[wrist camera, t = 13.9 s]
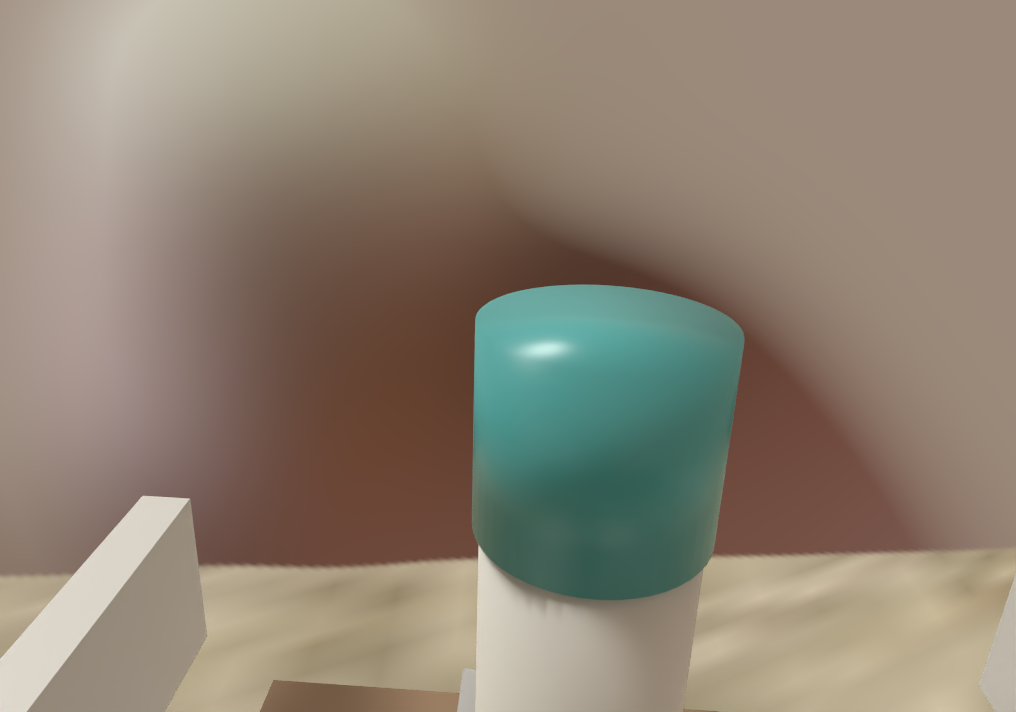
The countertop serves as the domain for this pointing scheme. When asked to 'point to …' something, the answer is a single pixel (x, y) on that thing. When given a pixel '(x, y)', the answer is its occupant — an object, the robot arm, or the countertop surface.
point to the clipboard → (371, 698)
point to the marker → (596, 493)
